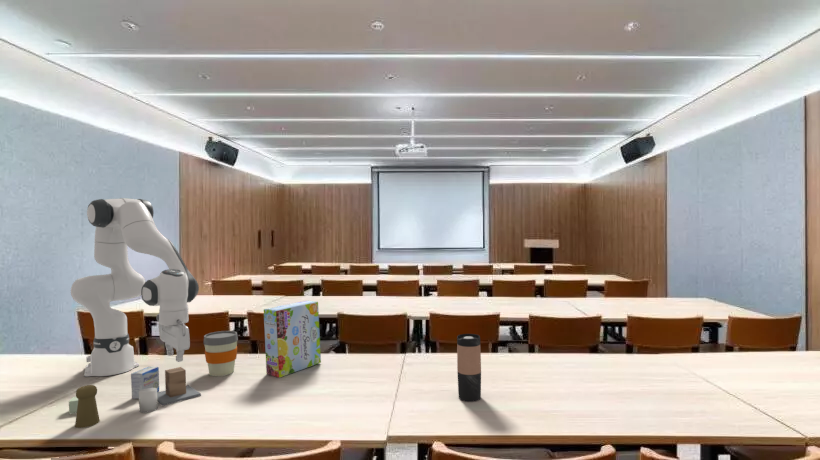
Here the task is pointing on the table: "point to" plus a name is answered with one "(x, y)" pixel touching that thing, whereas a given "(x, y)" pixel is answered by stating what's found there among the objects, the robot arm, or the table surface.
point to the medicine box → (144, 380)
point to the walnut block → (175, 381)
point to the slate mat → (165, 399)
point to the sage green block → (73, 405)
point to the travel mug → (469, 367)
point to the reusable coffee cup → (221, 352)
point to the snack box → (291, 337)
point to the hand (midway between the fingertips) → (174, 358)
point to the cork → (86, 407)
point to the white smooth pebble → (148, 400)
